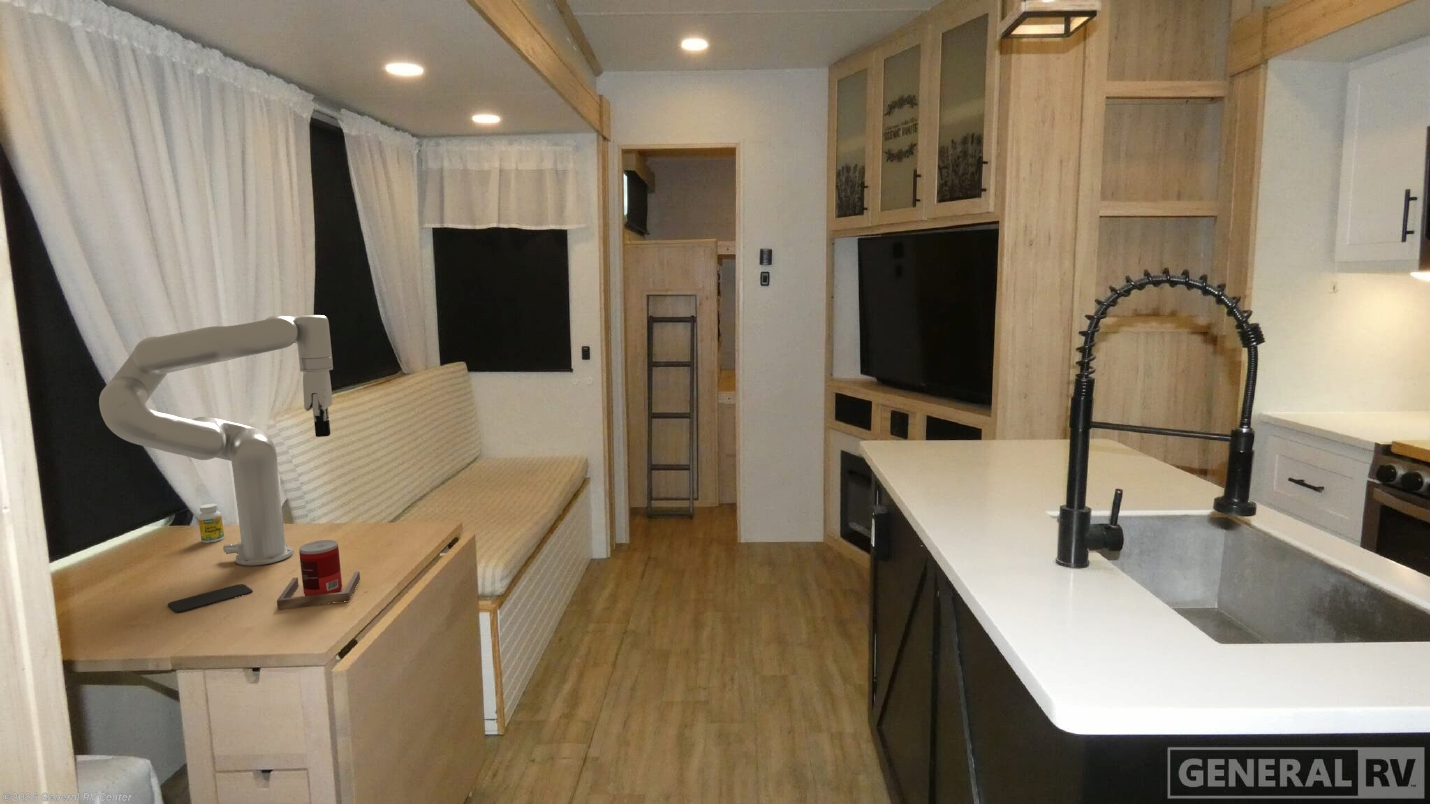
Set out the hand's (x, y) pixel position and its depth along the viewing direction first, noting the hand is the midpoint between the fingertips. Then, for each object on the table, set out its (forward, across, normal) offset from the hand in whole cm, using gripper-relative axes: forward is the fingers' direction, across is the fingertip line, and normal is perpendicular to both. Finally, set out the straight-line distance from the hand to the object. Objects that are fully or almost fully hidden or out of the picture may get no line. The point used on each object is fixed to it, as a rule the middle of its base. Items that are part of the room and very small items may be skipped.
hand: (323, 435), depth 208 cm
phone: (+30, +31, -19) cm, 47 cm away
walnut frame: (+29, +36, +4) cm, 46 cm away
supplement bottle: (+29, -15, -33) cm, 47 cm away
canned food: (+29, +35, +4) cm, 46 cm away
